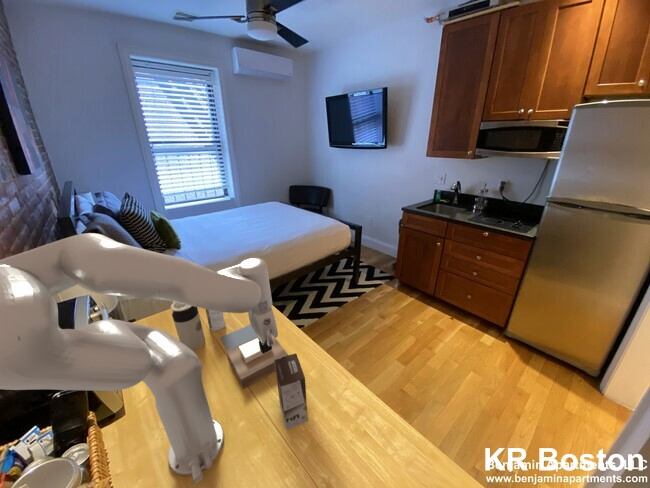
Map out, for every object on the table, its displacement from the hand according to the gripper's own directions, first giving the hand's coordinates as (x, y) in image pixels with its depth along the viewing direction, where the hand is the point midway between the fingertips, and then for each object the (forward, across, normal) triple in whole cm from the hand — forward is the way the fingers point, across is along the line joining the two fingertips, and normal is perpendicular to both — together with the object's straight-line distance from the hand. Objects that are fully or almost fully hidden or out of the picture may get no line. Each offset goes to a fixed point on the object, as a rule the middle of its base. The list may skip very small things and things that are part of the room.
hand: (266, 350), depth 83 cm
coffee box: (+11, -15, 0) cm, 18 cm away
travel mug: (+11, +29, +17) cm, 35 cm away
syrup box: (+11, +34, +7) cm, 37 cm away
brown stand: (+11, +7, +1) cm, 13 cm away
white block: (+7, +8, +1) cm, 10 cm away
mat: (+11, +20, +1) cm, 23 cm away
